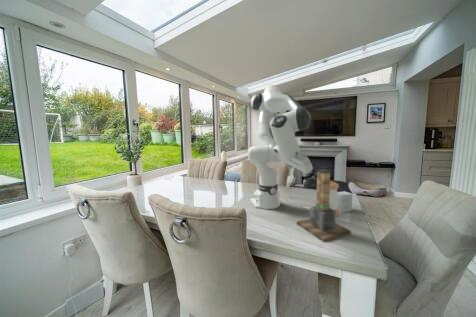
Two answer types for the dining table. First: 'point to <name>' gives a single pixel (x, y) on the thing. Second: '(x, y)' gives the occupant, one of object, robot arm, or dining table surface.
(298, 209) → the dining table surface
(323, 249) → the dining table surface
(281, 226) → the dining table surface
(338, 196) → the small box
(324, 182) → the oak post
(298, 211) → the dining table surface
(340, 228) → the sleeve stand
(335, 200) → the pepper shaker
